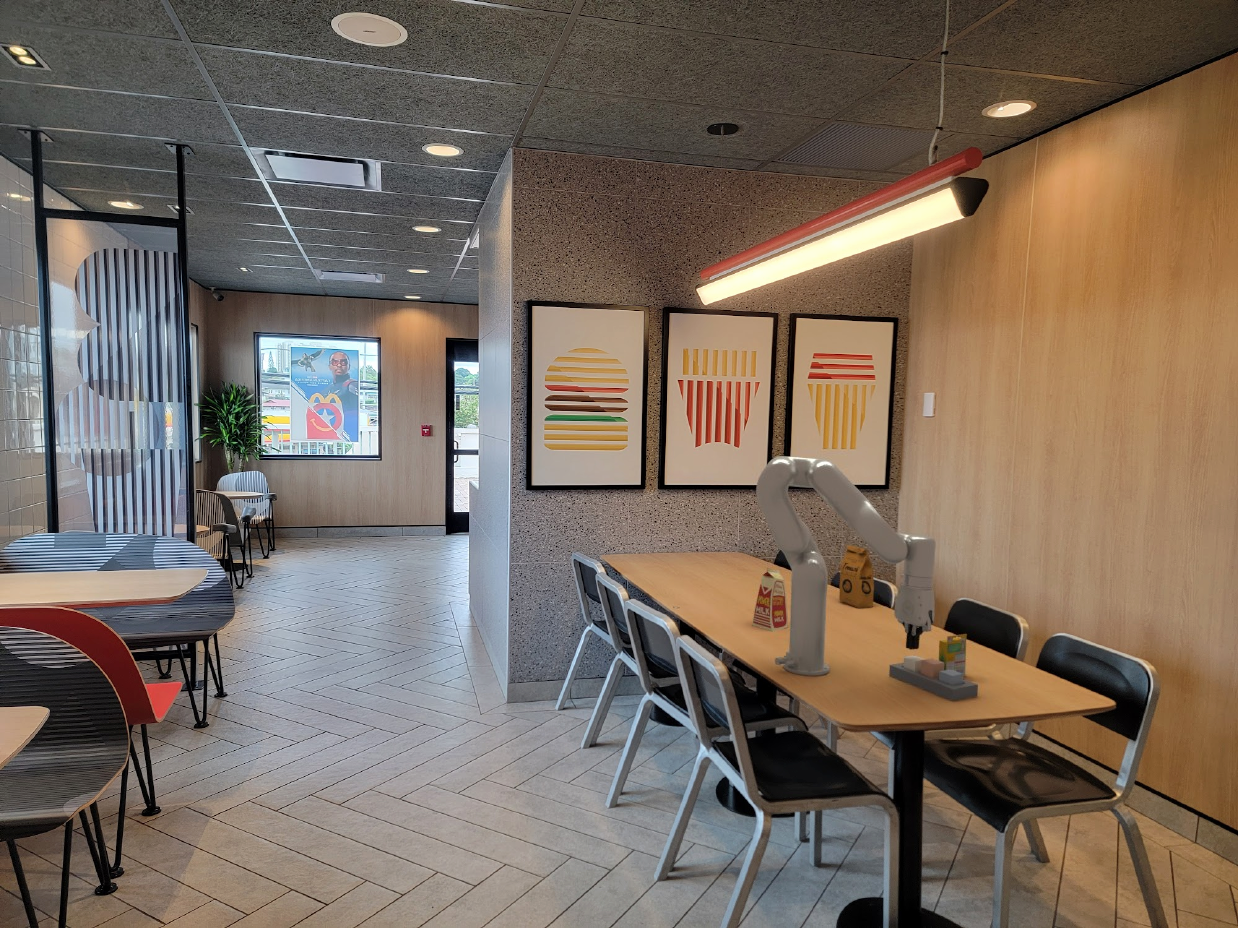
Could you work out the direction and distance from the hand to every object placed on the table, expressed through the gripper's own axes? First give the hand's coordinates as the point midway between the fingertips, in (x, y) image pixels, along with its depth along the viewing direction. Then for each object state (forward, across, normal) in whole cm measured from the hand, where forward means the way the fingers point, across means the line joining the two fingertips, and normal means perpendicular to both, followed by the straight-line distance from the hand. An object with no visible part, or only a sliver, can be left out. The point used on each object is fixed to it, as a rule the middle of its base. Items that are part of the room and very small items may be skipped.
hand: (912, 648), depth 214 cm
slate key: (+7, +13, +1) cm, 14 cm away
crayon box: (+8, +3, +13) cm, 15 cm away
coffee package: (+9, -71, +48) cm, 86 cm away
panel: (+8, +7, +1) cm, 11 cm away
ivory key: (+7, +1, +1) cm, 7 cm away
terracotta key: (+6, +7, +1) cm, 9 cm away
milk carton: (+10, -58, -2) cm, 59 cm away
